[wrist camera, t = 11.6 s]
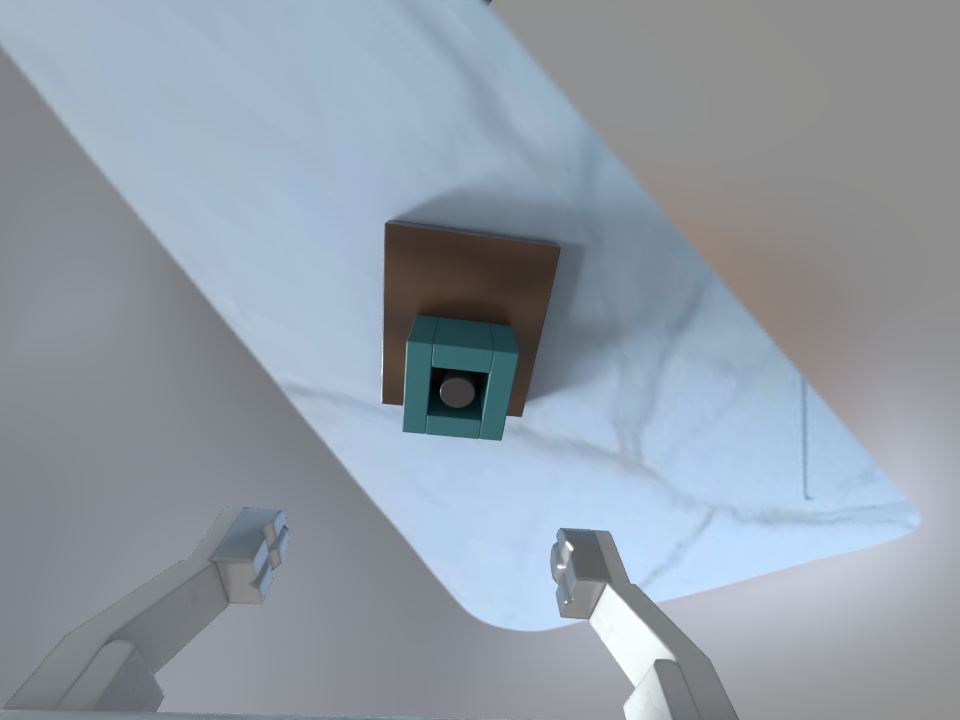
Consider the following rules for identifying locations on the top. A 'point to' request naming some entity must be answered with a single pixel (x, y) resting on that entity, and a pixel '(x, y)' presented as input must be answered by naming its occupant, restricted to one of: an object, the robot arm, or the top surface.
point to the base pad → (463, 299)
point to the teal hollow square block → (462, 351)
